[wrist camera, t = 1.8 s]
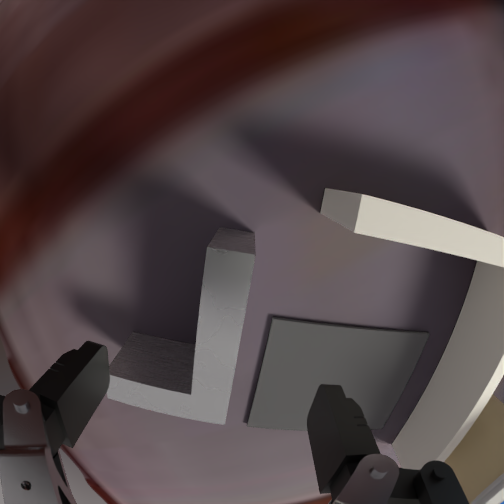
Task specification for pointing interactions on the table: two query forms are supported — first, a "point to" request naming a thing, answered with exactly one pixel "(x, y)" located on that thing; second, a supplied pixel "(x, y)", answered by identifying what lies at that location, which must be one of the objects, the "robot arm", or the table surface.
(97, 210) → the table surface
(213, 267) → the bracket
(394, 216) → the corner wall
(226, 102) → the table surface
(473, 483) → the coffee cup
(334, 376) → the mat
